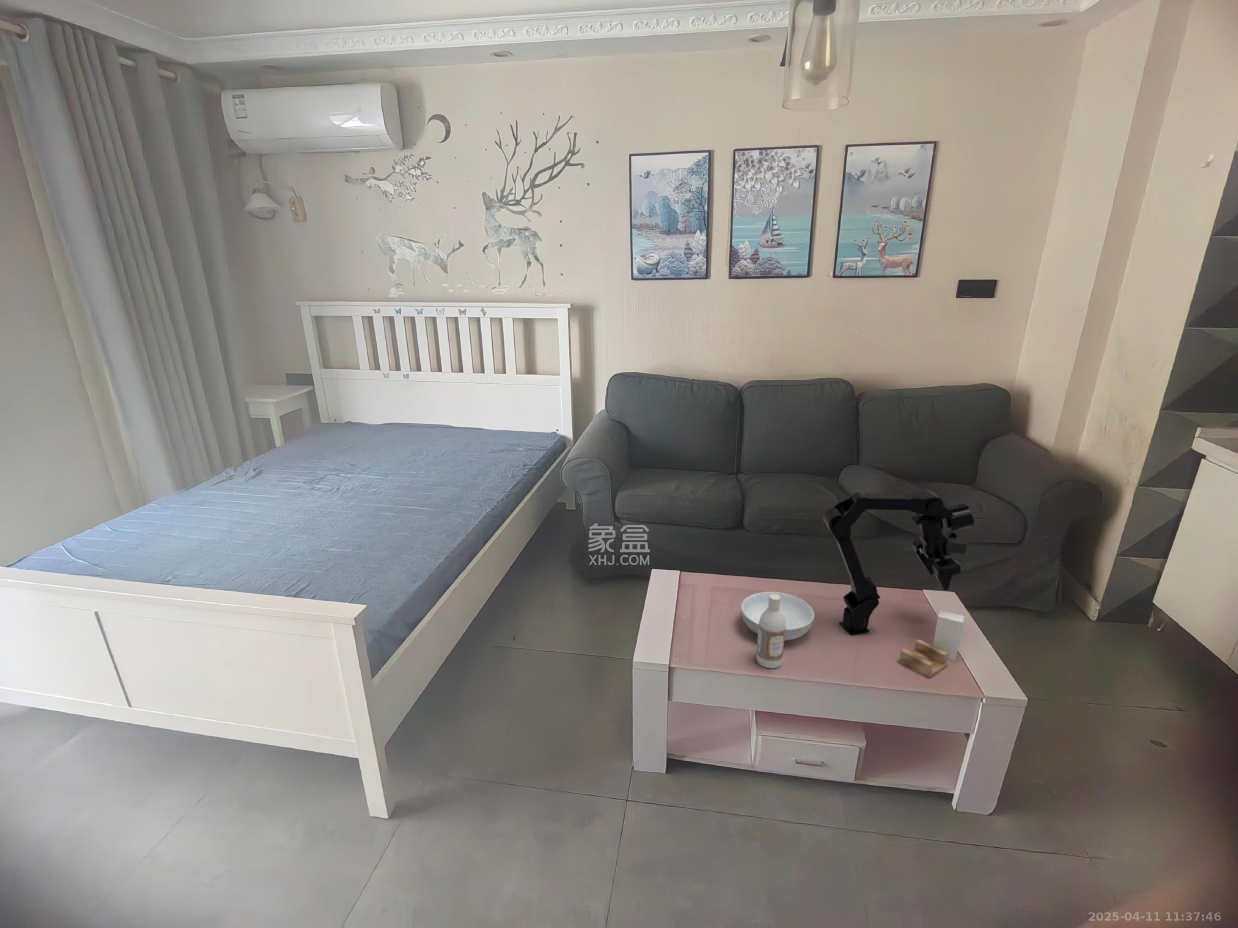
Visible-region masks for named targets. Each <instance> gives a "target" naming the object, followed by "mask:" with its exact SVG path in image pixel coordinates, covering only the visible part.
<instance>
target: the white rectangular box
mask: <svg viewBox="0 0 1238 928" xmlns="http://www.w3.org/2000/svg"><path fill="white" fill-rule="evenodd" d="M964 619H965V616H964V615H961V614H957V613H953V612H948V611H945V610H942V609H939V611H938V616H937V621H936V626H935V632H934V638H933V642H932V643H933V644H932V646H934V647H936V648H938V649H941V650H943V651H945V652H947V653H948V656H947V660H951V661H954V662H956V661H957V655H958V650H959V646H960V640H961V636H962V630H963V626H964V625H963V624H964Z"/></svg>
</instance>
